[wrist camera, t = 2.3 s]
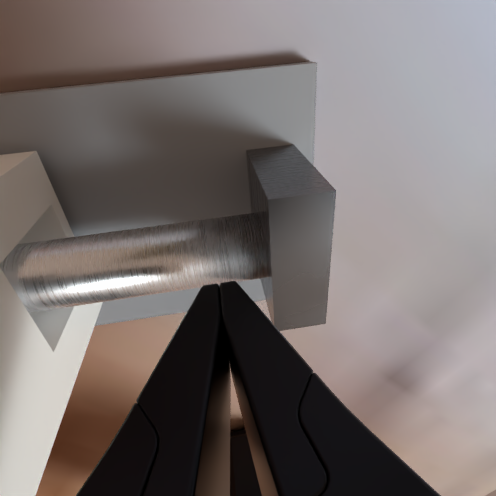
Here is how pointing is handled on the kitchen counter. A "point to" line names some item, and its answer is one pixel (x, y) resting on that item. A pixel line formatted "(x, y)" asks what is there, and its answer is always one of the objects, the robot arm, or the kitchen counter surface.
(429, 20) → the kitchen counter surface
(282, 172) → the rail
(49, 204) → the collar
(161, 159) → the base board
